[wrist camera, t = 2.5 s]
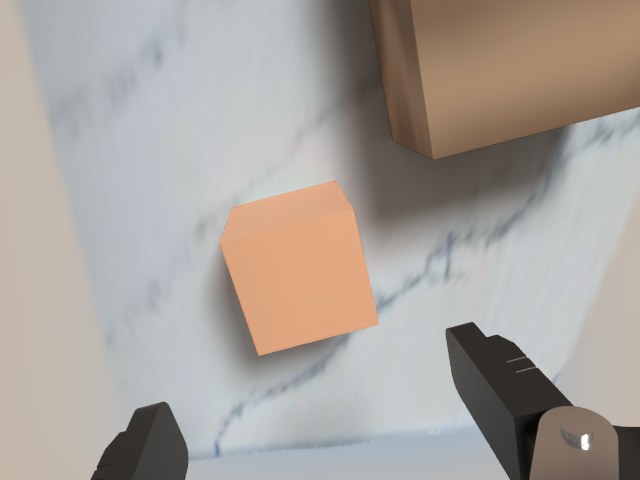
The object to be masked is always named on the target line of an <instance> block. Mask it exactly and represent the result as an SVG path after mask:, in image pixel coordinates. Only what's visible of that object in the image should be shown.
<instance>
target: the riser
mask: <svg viewBox="0 0 640 480" xmlns="http://www.w3.org/2000/svg"><path fill="white" fill-rule="evenodd" d="M368 2H369V7H370V13H371V19H372V25H373V30H374V36H375V42H376V47H377V53H378V59H379V64H380V70H381V76H382V82H383V87H384V93H385V99H386V104H387V110H388V116H389V121H390V127H391V133H392V139H393V141H394V142H396V143H398V144H401V145H403V146H405V147H407V148H409V149H411V150H413V151H416V152H418V153H420V154H422V155H424V156H426V157H428V158H430V159H433V160H435V159H439V158H442V157H446V156H450V155H454V154H458V153H462V152H466V151H470V150H473V149H477V148H481V147H485V146H489V145H493V144H497V143H501V142H505V141H508V140H512V139H516V138H520V137H524V136H528V135H532V134H536V133H540V132H543V131H547V130H551V129H555V128H559V127H563V126H567V125H571V124H574V123H578V122H582V121H586V120H590V119H594V118H598V117H602V116H606V115H609V114H613V113H617V112H621V111H625V110H629V109H633V108H637V107H640V0H368Z"/></svg>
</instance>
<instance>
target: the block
mask: <svg viewBox="0 0 640 480" xmlns="http://www.w3.org/2000/svg"><path fill="white" fill-rule="evenodd" d="M220 246H221V249H222V252H223V255H224V258H225V261H226V264H227V266H228V269H229V272H230V275H231V278H232V281H233V284H234V287H235V289H236V292H237V295H238V298H239V301H240V304H241V307H242V310H243V312H244V315H245V318H246V321H247V324H248V327H249V330H250V333H251V335H252V338H253V341H254V344H255V347H256V350H257V353H258V356H260V355H264V354H268V353H272V352H276V351H279V350H283V349H287V348H291V347H295V346H298V345H302V344H306V343H310V342H314V341H318V340H321V339H325V338H329V337H333V336H337V335H341V334H344V333H348V332H352V331H356V330H360V329H363V328H367V327H371V326H375V325H379V322H378V317H377V313H376V308H375V304H374V299H373V295H372V290H371V286H370V281H369V277H368V272H367V268H366V263H365V259H364V254H363V250H362V245H361V241H360V236H359V232H358V227H357V223H356V218H355V214H354V209H353V207H352V205H351V204H350V202H349V201H348V199H347V197H346V196H345V194H344V193H343V191H342V189H341V188H340V186H339V185H338V183H337V181H336V180H335V181H331V182H327V183H324V184H320V185H316V186H312V187H308V188H304V189H300V190H297V191H293V192H289V193H285V194H281V195H277V196H273V197H270V198H266V199H262V200H258V201H254V202H250V203H246V204H243V205H239V206H235V207H232V210H231V213H230V215H229V218H228V221H227V224H226V226H225V229H224V232H223V235H222V237H221V240H220Z"/></svg>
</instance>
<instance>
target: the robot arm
mask: <svg viewBox="0 0 640 480" xmlns="http://www.w3.org/2000/svg"><path fill="white" fill-rule="evenodd" d="M446 340H447V347H448V353H449V359H450V366H451V372H452V377H453V380H454V384H455V386H456V389H457V391H458V393H459V395H460V397H461V399H462V401H463V402H464V404H465V406H466V407H467V409H468V410H469V412H470V414H471V415H472V417H473V419H474V420H475V422H476V424H477V425H478V427H479V429H480V430H481V432H482V434H483V435H484V437H485V439H486V440H487V442H488V443H489V445H490V447H491V448H492V450H493V452H494V453H495V455H496V457H497V459H498V460H499V462H500V463H501V465H502V467H503V468H504V470H505V472H506V473H507V475H508V477H509V478H510V480H640V427H621V426H614V425H611V423H610V422H609V421H607V420H606V419H605V418H604V417H602V416H601V415H599V414H597V413H595V412H593V411H591V410H588V409H585V408H581V407H575V406H573V405H572V404H571V402H570V401H569V400H568V399H567V398H566V397H565V396H564V395H563V394H562V393H561V392H560V391H559V390H558V389H557V388H556V387H555V385H554V384H553V383H552V382H551V381H550V380H549V379H548V378H547V377H546V376H545V375H544V374H543V373H542V372H541V371H540V370H539V369H538V368H536V366H535V364H534V363H533V362H532V361H531V360H530V359H529V358H527V357H526V355H525V354H524V353H523V352H522V351H521V350H520V349H519V347H518V346H517V345H516V344H515V343H513V342H511V341H509V340H507V339H505V338H503V337H501V336H499V335H494V336H490V337H486V336H485V335H484V334H483V333H482V332H481V330H480V329H479V328H478V327H477V326H476V325H475V324H474V323H473V322H470V323H466V324H462V325H458V326H455V327H451V328H447V329H446ZM187 468H188V450H187V446H186V443H185V440H184V438H183V436H182V433H181V431H180V429H179V427H178V424H177V422H176V420H175V418H174V415H173V413H172V411H171V409H170V407H169V405H168V404H167V403H166V402H161V403H157V404H153V405H149V406H145V407H142V408H138V409H136V410H135V412H134V414H133V416H132V418H131V420H130V423H129V425H128V427H127V430H126V431H124V432H120V433H119V434H118V436H116V438H115V439H114V440H113V441H112V442H111V443H110V445H109V446H108V447H107V448H106V449H105V451H104V453H103V455H102V457H101V459H100V461H99V463H98V465H97V470H96V471H95V472H94V474H93V476H92V478H91V480H185V477H186V472H187Z"/></svg>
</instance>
